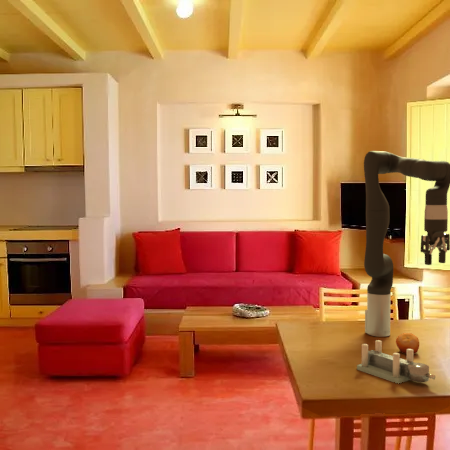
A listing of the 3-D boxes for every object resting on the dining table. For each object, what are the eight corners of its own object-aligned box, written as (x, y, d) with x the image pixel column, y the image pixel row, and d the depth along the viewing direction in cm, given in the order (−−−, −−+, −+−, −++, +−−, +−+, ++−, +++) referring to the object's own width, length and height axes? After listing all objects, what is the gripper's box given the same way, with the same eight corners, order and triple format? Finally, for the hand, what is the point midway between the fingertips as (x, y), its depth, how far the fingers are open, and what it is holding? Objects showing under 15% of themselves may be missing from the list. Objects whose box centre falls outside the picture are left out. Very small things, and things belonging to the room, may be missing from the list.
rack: (356, 369, 166) (357, 344, 165) (376, 363, 172) (376, 339, 171) (398, 383, 153) (398, 356, 152) (418, 376, 159) (418, 350, 158)
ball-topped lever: (363, 364, 166) (363, 352, 166) (374, 360, 170) (374, 349, 169) (428, 386, 147) (428, 372, 147) (439, 381, 150) (440, 368, 150)
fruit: (418, 345, 187) (419, 329, 183) (419, 361, 181) (419, 346, 177) (395, 343, 190) (396, 328, 186) (395, 359, 184) (395, 344, 180)
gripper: (434, 218, 169) (433, 266, 170) (457, 217, 177) (456, 263, 178) (414, 218, 175) (413, 264, 176) (437, 217, 184) (436, 261, 184)
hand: (435, 263), depth 177 cm, fingers open, 8 cm apart
